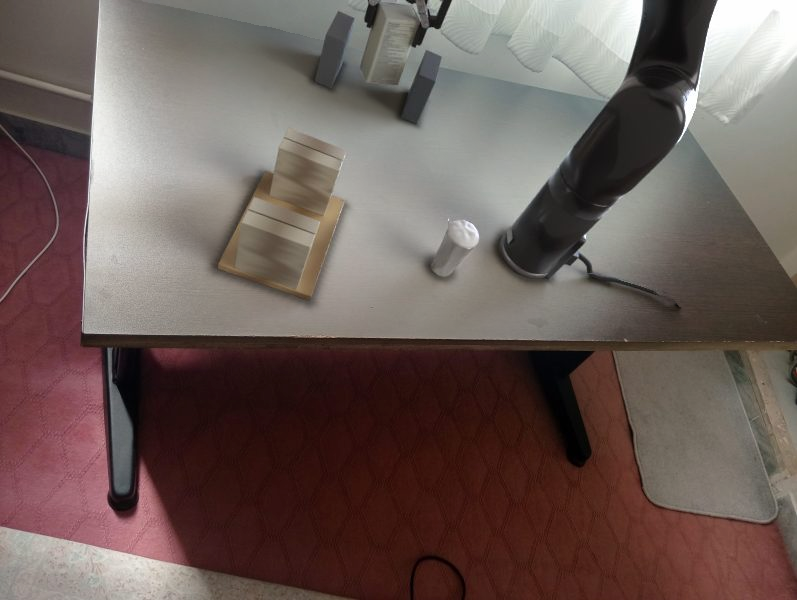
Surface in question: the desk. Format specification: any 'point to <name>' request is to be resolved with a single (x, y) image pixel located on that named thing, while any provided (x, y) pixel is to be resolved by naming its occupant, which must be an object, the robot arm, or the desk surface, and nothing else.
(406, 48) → the cosmetic box
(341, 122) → the desk surface
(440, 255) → the milkshake
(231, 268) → the wooden holder
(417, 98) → the grey bookends
